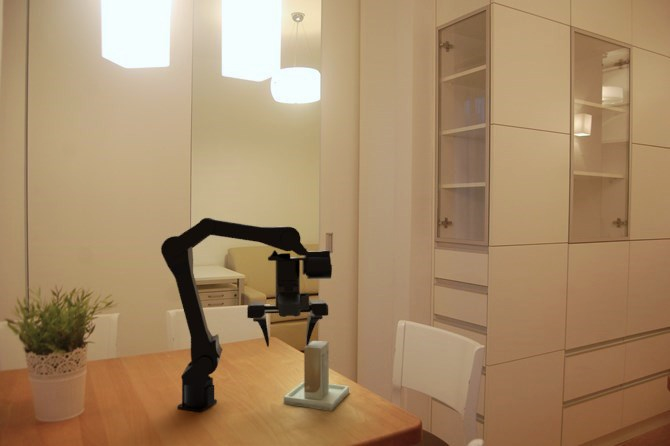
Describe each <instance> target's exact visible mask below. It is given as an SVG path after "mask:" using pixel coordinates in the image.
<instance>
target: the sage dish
mask: <svg viewBox="0 0 670 446" xmlns="http://www.w3.org/2000/svg"><path fill="white" fill-rule="evenodd" d="M349 393H350V386H349V385H342V384H335V383H329V391H328V392H327V394H326V395H325V396H324V397H323V398H322V399H321V400H318V399H310V398H304V381H302V382H301V383H299V384H298V385H297V386H296V387H294V388H293V389H292V390H291V391H289V392H288V393H287V394H285V395H283V404H284V405H291V406H297V407H304V408H311V409H316V410H322V411H323V410H324V411H329V412H332V411H333V410H334V409H336V408H337V406H338V405H339V404H340V403H341V402H342V401H343V400H344V399H345V397H347V395H348V394H349Z"/></svg>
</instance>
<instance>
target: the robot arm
mask: <svg viewBox="0 0 670 446" xmlns="http://www.w3.org/2000/svg"><path fill="white" fill-rule="evenodd" d="M210 236H217V237H223V238H228V239H229V238H230V239H234V240H242V241H249V242H255V243H261V244H263V245H267V246H269V247H271V248H274V250H273V251H272V253H271V254H269V256H268V257H267V260H268V261H271V262H272V261H275V304H273V305H272V304H271V305H265V301H252V302H250V301H249V303H248V304H247V308H246V309H247V311H246V313H247V315H246V317H247V319H252V321H253V322H255V323H256V322H257V323H258V325H259V327H260V329H261V332H262V334H263V337H264V338H263V339H264V341H265V343H266V347H268V348H269V347H270V337H269V332H268V325H267V324H268V323H267V316H266V314H278V316H279V317H281V318H285V317H299V316H301V313H307V319H306V320H307V321H306V330H305V331H306V332H305V346H306V345H308V344H309V343H310V342H311V341H310V340H311V337H312V333H313V332H314V331H313V330H314V328H315V326H316V324H317V323H318V321H319V320H323V316H325V317H326V316H329V305H328V304H327V303H326V302H325V301H324V300H323V299H322V300H321V299H320V300H319V299H317V300H315V299H314V300H310V294H309V293H308V292H307V293H303V292H302V293H301V290H300V289H301V286H300V285H301V280H300V278H301V273H302V275H304V276H306V280H319V279H320V280H324V279H325V280H326V279H331V278H332V272H333V265H332V260H331V251H330V250H328V249H324V250H310V251H309V250H307V247H305V246H304V245H303V243H301V235H300V232H299V231H298V230H297V228H295V227H292V226H284V225H283V226H257V225H251V224H246V223H239V222H231V221H225V220H217V219H214V218H211V217H204V218H202V219H201V220H200V221H199V222H198V223H197V224H195V225H194V226H192V227H190V228H189V229H187V230H185V231H184V232H182V233H181V234H180V235H174V236H169V237H167V238H166V239H165V240H164V241H163V243H162V244H161V247H160V250H161V251H160V252H161V255H162V257H163V259H164V262H165V263H166V266H167V267H168V269H169V270H170V272H171V274H172V275H173V277H174V279H175V282H176V287H177V289H178V295H179V297H180V302H181V305H182V310H183V312H184V313H183V314H184V317H185V320H186V325H187V327H188V331H189V332H188V333H189V335H190V359H191V361H190V362H188V364H187V365H186V367H185V369H184V371H183V373H182V375H181V403H179V404H178V405H177V406H176V407H177V409H180V410H181V409H182V410H186V411H193V412H198V413H199V412H203V411H204V410H206V409H208V408H209V407H211V406H213V405H214V404H216V403H218V400H217V398H216V399H215V384H214V377H211V376H210V375H211V374H213V373H214V372H215V371H216V370H217V369H218V366H219V363H220V359H221V356H222V353H223V348H222V346H221V344H220V337H219V334H214V335H212V333H211V332H210V330H209V327H208V323H207V320H206V316H205V312H204V308H203V305H202V301H201V297H200V293H199V290H198V285H197V282H196V278H195V274H194V254H193V253H194V252H193V248H195V247H196V246H197V245H199V244H201V242H203V241H204V240H206V239H207V238H208V237H210ZM275 249H276V250H275ZM277 249H278V250H280V251H285V252H279V253H278V251H277ZM288 252H289V253H288ZM290 252H293V253H295V254H296V255H298V256H297V257H295V256H292V257H291V253H290ZM301 256H302V257H301ZM300 261H301V262H300ZM300 263H301V264H300ZM300 267H301V269H302V270H301V269H300ZM300 271H302V272H300Z"/></svg>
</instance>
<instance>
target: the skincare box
mask: <svg viewBox="0 0 670 446" xmlns="http://www.w3.org/2000/svg"><path fill="white" fill-rule="evenodd" d="M329 345H330V343H329V341H320V340H312V341H309V344H308V345H306V344H305V346H304V349H303V350H304V351H303V352H304V356H303V357H304V359H303V362H304V363H303V366H304V371H303V372H304V375H303V378H304V398H310V399H318V400H321V399H322V398H323V397H324V396H325V395H326V394H327V392H328V391H329V384H330V377H329V376H330V374H329V373H330V372H329V371H330V367H329V365H330V364H329V363H330V360H329V358H330V356H329V355H330V349H329V347H330V346H329Z"/></svg>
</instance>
